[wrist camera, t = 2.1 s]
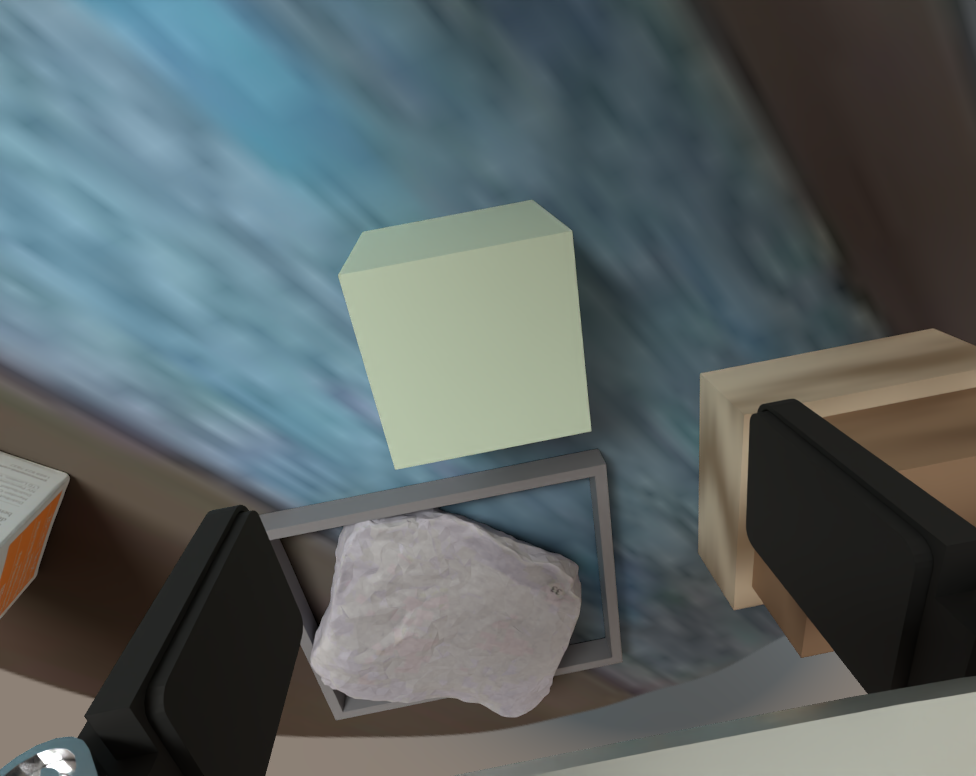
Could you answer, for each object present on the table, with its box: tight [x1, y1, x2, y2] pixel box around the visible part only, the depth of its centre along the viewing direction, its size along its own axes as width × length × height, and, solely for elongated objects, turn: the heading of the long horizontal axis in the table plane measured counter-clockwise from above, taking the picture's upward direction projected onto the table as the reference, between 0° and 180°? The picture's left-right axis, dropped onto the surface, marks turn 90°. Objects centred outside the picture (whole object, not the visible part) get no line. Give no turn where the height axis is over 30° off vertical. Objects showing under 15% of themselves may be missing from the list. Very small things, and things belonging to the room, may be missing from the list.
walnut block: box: [752, 387, 976, 658], centre depth 20 cm, size 8×8×4 cm
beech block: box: [698, 328, 976, 610], centre depth 24 cm, size 10×10×4 cm
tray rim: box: [259, 449, 622, 720], centre depth 26 cm, size 12×15×1 cm
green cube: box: [338, 200, 591, 470], centre depth 18 cm, size 6×6×6 cm
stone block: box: [310, 507, 581, 717], centre depth 26 cm, size 12×5×10 cm
